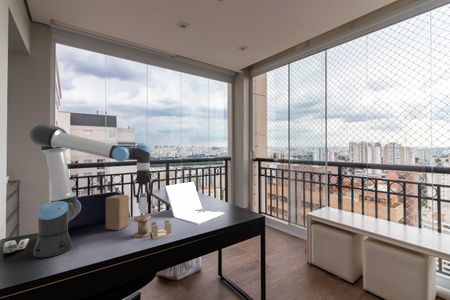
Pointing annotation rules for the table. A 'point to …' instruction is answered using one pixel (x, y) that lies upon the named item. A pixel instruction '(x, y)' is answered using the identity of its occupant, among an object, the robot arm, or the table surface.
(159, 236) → the tan base with posts
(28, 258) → the table surface
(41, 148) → the robot arm
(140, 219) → the spool
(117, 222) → the wooden block
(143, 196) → the tab
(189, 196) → the laptop
